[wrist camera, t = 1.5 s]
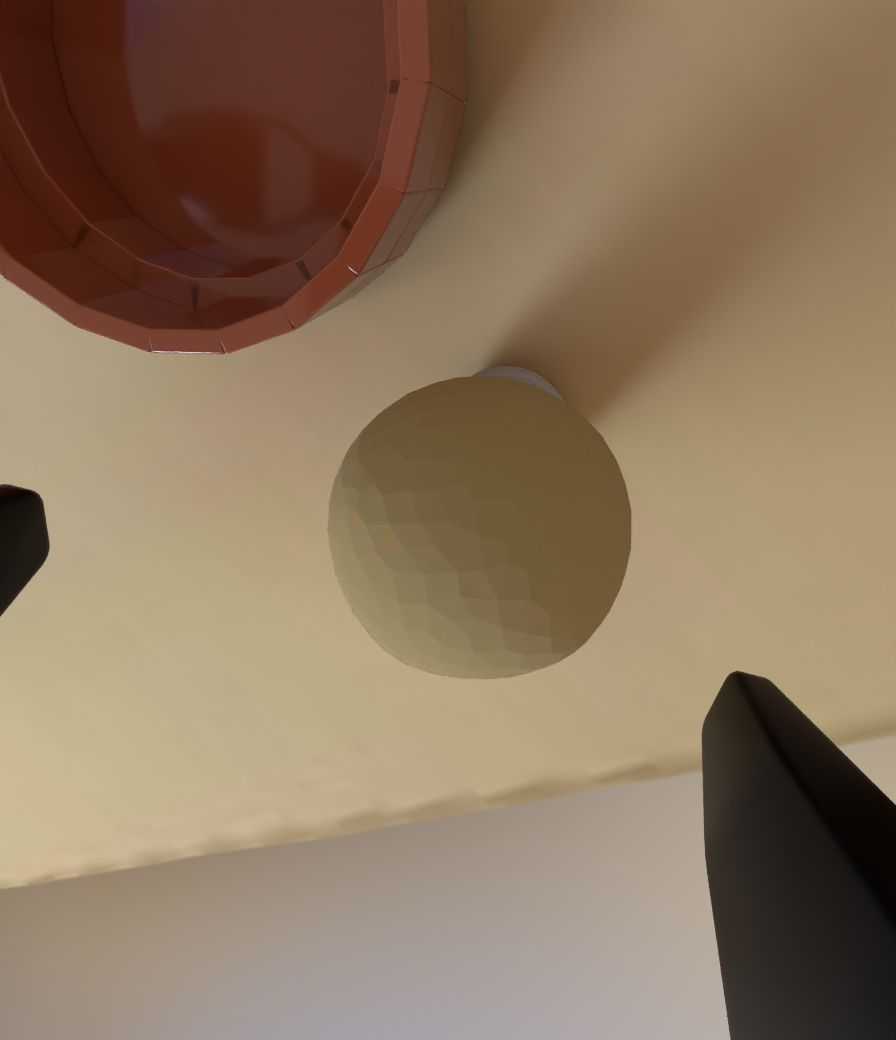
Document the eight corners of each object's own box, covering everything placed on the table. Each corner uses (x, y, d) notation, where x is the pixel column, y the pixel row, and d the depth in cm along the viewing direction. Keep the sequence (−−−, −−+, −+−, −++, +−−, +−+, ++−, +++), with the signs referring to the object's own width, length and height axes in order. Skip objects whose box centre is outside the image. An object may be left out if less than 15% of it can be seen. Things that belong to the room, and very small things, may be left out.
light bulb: (387, 329, 19) (234, 461, 11) (608, 297, 18) (636, 418, 9) (427, 519, 22) (331, 743, 14) (621, 504, 21) (651, 746, 12)
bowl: (166, 363, 21) (61, 412, 17) (-75, -101, 16) (-310, -197, 12) (530, 232, 18) (513, 252, 13) (355, -415, 13) (240, -715, 8)
